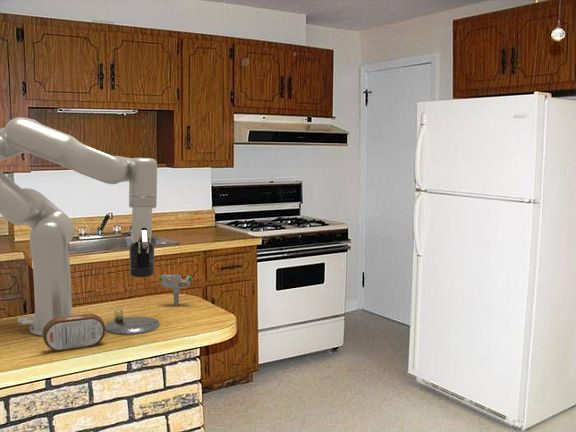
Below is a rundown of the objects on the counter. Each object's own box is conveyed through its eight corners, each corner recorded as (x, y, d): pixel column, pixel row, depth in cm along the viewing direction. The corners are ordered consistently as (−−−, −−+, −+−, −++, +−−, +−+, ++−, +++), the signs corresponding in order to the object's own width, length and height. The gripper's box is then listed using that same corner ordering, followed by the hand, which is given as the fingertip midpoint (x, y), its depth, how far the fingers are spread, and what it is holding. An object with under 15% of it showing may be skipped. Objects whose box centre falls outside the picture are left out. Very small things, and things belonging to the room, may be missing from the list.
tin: (104, 341, 153) (103, 310, 152) (107, 345, 150) (106, 313, 149) (43, 350, 146) (41, 318, 145) (44, 354, 143) (42, 321, 142)
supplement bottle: (146, 271, 170) (147, 230, 168) (158, 275, 165) (159, 234, 163) (124, 274, 165) (125, 232, 164) (136, 278, 160) (137, 235, 159)
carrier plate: (106, 337, 156) (105, 324, 156) (104, 321, 170) (104, 309, 170) (162, 331, 161) (162, 319, 161) (156, 316, 175) (156, 305, 175)
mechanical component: (191, 307, 186) (190, 276, 185) (159, 306, 186) (158, 276, 185) (192, 304, 189) (192, 274, 188) (161, 304, 189) (161, 274, 188)
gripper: (126, 199, 169) (125, 259, 171) (131, 205, 153) (130, 271, 155) (153, 199, 172) (151, 258, 174) (160, 205, 156) (158, 270, 158)
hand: (141, 264), depth 165 cm, fingers closed on supplement bottle, 6 cm apart
